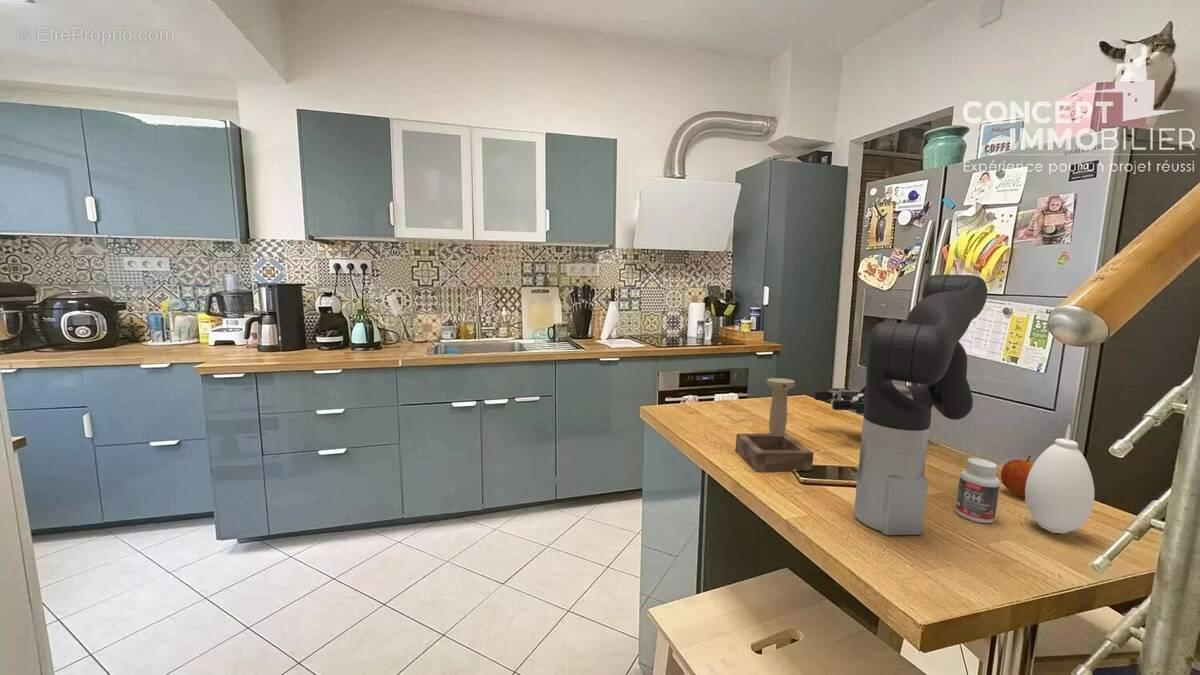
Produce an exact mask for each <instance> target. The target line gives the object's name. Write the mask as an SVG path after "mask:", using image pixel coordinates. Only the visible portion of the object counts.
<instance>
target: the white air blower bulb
mask: <svg viewBox="0 0 1200 675" xmlns="http://www.w3.org/2000/svg"><path fill="white" fill-rule="evenodd" d="M1070 438H1071V424H1068V426H1067V428H1066V432H1065V438H1056V439H1054V444H1051V445H1050V446H1049V447H1047V448H1046V449H1045V450H1044V451H1042V453H1041V454H1040V455H1039V456H1038V457H1037V459H1035V461H1034V462H1035V463H1034V464H1033V466H1032V468H1031V470H1030V472H1029V474H1028V477H1027V481H1026V487H1025V498H1024V500H1025V504H1026V507H1027V510H1028V512H1029V514H1030V516H1031V518H1032V520H1034V521H1036V522H1037V524H1038V525H1039V526H1040V527H1041V528H1043V529H1046V530H1045V531H1047V530H1048V531H1050V532H1049V533H1051V532H1053V533H1052V534H1055V533H1060V534H1068V533H1069V532H1075V531H1077V530H1079V529H1080V528H1082V527H1083V526H1084V524H1085V523H1086V522H1087V521H1088V520H1089V518H1090V516H1091V514H1092V511H1093V508H1094V503H1095V486H1094V485H1095V484H1094V480H1093V475H1092V471H1091V469H1090V466H1089V464H1088V462H1087V459H1086V458H1085V456H1084V455H1083V453H1082V452H1081V450H1080V449H1078V448H1079V443H1078V442H1077V441H1075V440H1071V439H1070ZM1048 531H1047V532H1048Z"/></svg>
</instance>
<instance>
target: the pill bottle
mask: <svg viewBox="0 0 1200 675" xmlns="http://www.w3.org/2000/svg"><path fill="white" fill-rule="evenodd" d="M997 469H998V465H997V464H996V463H995V462H992V461H989V460H987V459H983V458H977V457H970V458H968V459H967V460H966V469H963V470H962V471H961V472H960V473H959V480H958V481H959V482H958V489H957V496H956V502H955V512H956V513H957V514H958V515H959V516H961V517H963V518H965V519H967V520H969V521H972V522H975V523H976V522H977V523H980V524H991V523H993V522H995V519H996V514H997V506H998V501H999V493H1000V487H1001V481H1000V479H999V478H998V477H997V476H996V474H997Z"/></svg>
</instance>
